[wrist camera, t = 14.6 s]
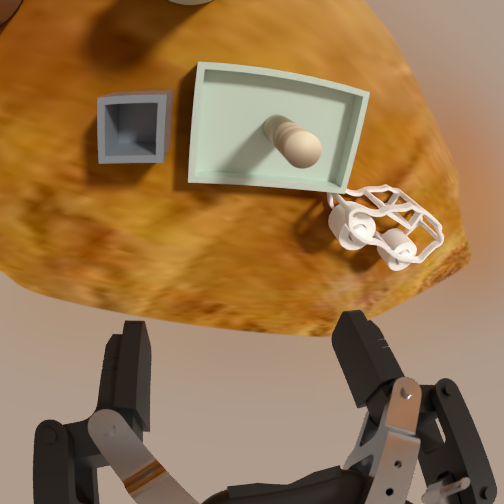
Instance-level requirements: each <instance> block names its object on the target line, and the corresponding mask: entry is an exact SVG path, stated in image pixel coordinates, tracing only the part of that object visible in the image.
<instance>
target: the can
mask: <svg viewBox="0 0 504 504" xmlns="http://www.w3.org/2000/svg"><path fill="white" fill-rule="evenodd" d="M169 1H171V2H174V3H177V4H182V5H198V4H204V3H207V2H210V1H213V0H169Z"/></svg>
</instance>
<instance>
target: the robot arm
mask: <svg viewBox="0 0 504 504" xmlns="http://www.w3.org/2000/svg"><path fill="white" fill-rule="evenodd" d="M21 1H22V0H0V25H1V24H3V23H4V22H5V21H7V20H8V19H9V18H10V17H11V16H12V14H13V13H14V12H15V11H16V9H17V8H18V6H19V5H20V3H21ZM332 346H333V348H334V351H335V353H336V356H337V358H338V361H339V363H340V365H341V368H342V370H343V373H344V375H345V378H346V380H347V383H348V385H349V388H350V390H351V393H352V395H353V398H354V401H355V403H356V406H357V408H361V407H365V406H367V408H368V411H367V413H366V415H365V418H364V421H363V424H362V427H361V431H360V433H359V436H358V439H357V442H356V445H355V448H354V450H353V451H352V452H351V454H350V455H349V456H348V458H347V460H346V462H345V464H344V466H343V469H341V468H340V466H335V467H332V468H328V469H325V470H321V471H317V472H314V473H312V474H310V475H308V476H306V477H304V478H302V479H300V480H297V481H295V482H293V483H291V484H288V485H280V484H263V483H254V484H246V485H237V486H228V487H227V490H224V491H221V492H219V493H216V494H214V495H213V496H211V497H209V498H208V499H206V500H205V501H204V502H203V503H202V504H413V503H411V502H409V501H407V500H406V498H407V495H408V491H409V488H410V485H411V481H412V477H413V474H414V470H415V466H416V462H417V457H418V460H419V463H420V466H421V469H422V473H423V476H424V479H425V482H426V486H427V490H426V492H425V493H424V494H423V495H422V499H421V500H422V502H423V503H425V504H493V502H494V501H495V498H496V495H497V486H496V483H495V480H494V477H493V474H492V470H491V467H490V464H489V461H488V459H487V456H486V453H485V450H484V447H483V445H482V442H481V439H480V437H479V434H478V432H477V430H476V427H475V424H474V422H473V420H472V417H471V415H470V413H469V410H468V408H467V406H466V404H465V402H464V399H463V397H462V395H461V393H460V391H459V389H458V387H457V385H456V384H455V383H454V382H453V381H452V380H450V379H447V378H443V379H441V380H439V381H438V382H437V383H436V384H435V385H419V384H418V383H417V382H416V381H415V380H413V379H412V378H409V377H405V376H404V374H403V372H402V370H401V368H400V366H399V364H398V362H397V361H396V359H395V357H394V355H393V353H392V351H391V349H390V347H388V344H387V342H386V340H384V336H383V334H382V333H381V331H380V329H379V328H378V327H377V326H376V325H375V324H374V323H373V322H372V321H371V320H369V321H367V319H366V317H365V315H364V313H363V312H362V311H361V310H352V311H344V312H343V313H342V314H341V316H340V318H339V320H338V323H337V325H336V327H335V329H334V331H333V333H332ZM102 367H103V369H102V373H101V380H100V387H99V396H98V403H97V407H96V410H95V412H94V413H93V414H92V415H91V416H90V417H89V418H88V419H86V420H84V421H80V422H75V423H70V424H65V425H62V424H61V423H59V422H58V421H55V420H45V421H43V422H41V423H40V424H39V425H38V426H37V428H36V431H35V438H34V455H33V496H34V504H99V494H98V482H97V468H98V467H104V466H109V465H110V466H111V467H112V469H113V470H114V471H115V473H116V474H117V475H118V477H119V478H120V479H121V481H122V482H123V483H124V485H125V488H126V490H127V491H128V493H129V494H130V496H131V497H132V498H133V499H134V500H135V502H136V503H137V504H199V503H198V502H197V501H196V500H195V499H194V498H193V497H192V496H191V495H190V494H188V492H186V491H185V489H184V488H182V486H181V485H180V484H179V483H178V482H177V481H175V479H174V478H173V477H172V476H171V475H170V474H169V473H168V472H167V471H166V470H165V469H164V467H163V466H162V465H161V464H160V463H159V462H158V461H157V460H156V459H155V457H154V456H153V455H152V454H151V453H150V452H149V451H148V449H147V448H146V447H145V446H144V444H143V431H146V432H150V380H151V345H150V341H149V337H148V333H147V329H146V325H145V321H125V323H124V328H123V334H122V335H121V334H113V335H112V337H111V338H110V340H109V341H108V343H107V344H106V348H105V355H104V360H103V366H102ZM436 418H438V419H439V422H440V424H441V427H442V429H443V432H444V434H445V438H446V441H445V443H444V441H443V439H442V436H441V434H440V431H439V429H438V426H437V424H436V421H435V419H436Z"/></svg>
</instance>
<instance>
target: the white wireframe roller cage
mask: <svg viewBox="0 0 504 504" xmlns="http://www.w3.org/2000/svg"><path fill="white" fill-rule="evenodd" d="M387 190H390V191H392V192H393V194H392V196H391V197H390V199H389V200H388V202H387V203H383V202H382V201H381V200H379V199H378V198H376V197H375V196H374V195H372V194H371V193H370V192H384V191H387ZM345 193H347V194H349V195H352V196H362V195H366V196H367V197H368V198H369V199H370V200H371V201H372V202H373V203H374V204H375V205H376V206H377V207H378V208H379V209H377V210H374V209H369V208H367V207H365V206H363V205H360V204H357V203H356V202H353V201H345V200H344V199H343V198H342V197H341V196H340V195H339V194H338V193H330V192H327V201H328V204H329V206H330V207H331V208H332V209H333V210H332V211H331V213H330V215H329V220H328V224H329V228H330V229H331V231H332V232H333V234H334V235H335V237H336V238H337V239H338V241H339V242H340V244H341V245H342V247H344V248H345V249H348V250H357V249H360V248H362V247H364V246H365V245H367V244H370V245H377V251H378V253H379V255H380V256H381V257H382V258H383V260H384V261H385V262H386V264H387V265H388V266H389V268H390V269H392V270H395V271H398V270H401V269H404V268H405V267H407V266H408V265H409V264H410V263H411V262H413V263H421V262H423V261H424V260H425V258H426V257H427V256H428V255H429V254H430V253H431V252H432V251H433V250H435V249H436V248H437V247H439V246H441V245H442V244H443V241H444V235H443V234H442V232H441V230H442V225H441V224H440V223H439V222H438V221H437V220H436V219H435V218H434V217H433V216H432V215H431V214H430V213H428V212H427V211H426V210H425V209H423V208H422V207H421V206H419V205H418V204H417V203H416V202H415V201H413V200H412V199H411V198H410V197H409V196H407V195H406V194H405V193H404V192H402V191H401V190H400V189H399V188H392V187H390V186H388V185H382V186H377V187H375V186H369V187H364V188H361V189H359V190H356V191H354V190H349V189H347V188H346V191H345ZM399 196H401V197H402V198H403V199H404V200H405V201H407V203H404V204H400V205H394V203H395V202H396V200H397V199H398V197H399ZM333 197H334V198H335V199H336V200H337V201H338V202H339V205H337V206H336V207H335V206H334V204H333ZM411 209H413V210H414V211H415V213H414V214H413V216H412V217H411V218H410V220H409V221H407V220H406V219H405V218H404V217H402V216H401V215H400V214H399V213H398V212H405V211H408V210H411ZM368 214H369V215H371V216H374V217H382V216H385V215H388V216H389V217H391V218H392V219H394V220H395V221H397V222H399V223H400V224H402V225H403V226H404V227H406V229H405V230H404V231H403V232H402V231H401V229H398V228H393V229H390V230H388V231H387V232H385V233H384V234H381V233H379V232H377V231H375V222H374V220H373V219H372V218H371V217H370V216H369V215H368ZM422 216H423V217H425V218H426V219H427V220H428V221H429V222H430V223H431V224H432V225H433V226H434V227H435V230H436V232H437V233H438V235H437V234H436V233H435V232H434V231H433V230H432V229H431V228H430V227H429V226H428V225H427V224H426V223H425V222H423V217H422ZM420 225H421V226H422V227H423V228H424V229H425V230H426V231H428V232H429V233H430V234H431V235H432V236H433V237H434V238H435V239H436V240H435V241H433V242H432V243H430V244H429V245H428V246H427V247H426V248H425V249H424V250H423V251H422V252H421V253H420V254H419V256H417V257H415V255H416V250H417V248H416V245H415V244H414V243H413V242H412V241H411V240H410V239H409V238H408V237H407V235H408V234H409V233H411V232H412V231H413V230H414V229H415V228H417V227H419V226H420ZM373 236H374V238H372V237H373Z"/></svg>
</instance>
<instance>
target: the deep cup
mask: <svg viewBox="0 0 504 504" xmlns="http://www.w3.org/2000/svg"><path fill="white" fill-rule="evenodd" d="M173 92H174V90H153V91H125V92H114V93H111V94H108V95H104V96H101V97H98V98H97V137H98V161H99V164H109V163H164V160H165V158H166V155H167V153H168V150H169V148H170V135H171V118H172V104H173Z"/></svg>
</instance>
